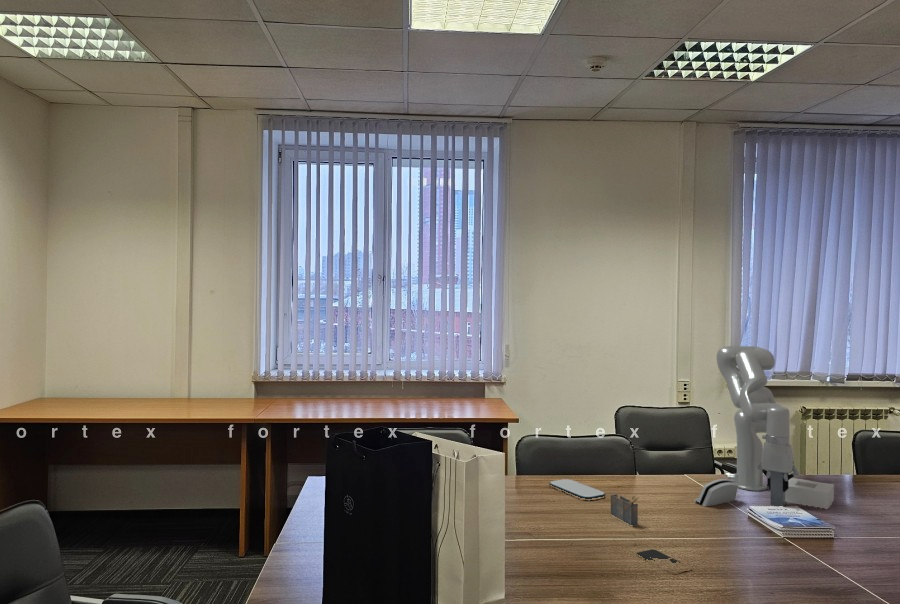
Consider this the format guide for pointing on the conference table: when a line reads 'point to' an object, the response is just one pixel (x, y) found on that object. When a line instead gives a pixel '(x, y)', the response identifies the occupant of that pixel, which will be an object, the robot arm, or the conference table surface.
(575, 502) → the conference table surface
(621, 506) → the grey upright flat piece
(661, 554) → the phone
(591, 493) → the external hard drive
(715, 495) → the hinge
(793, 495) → the well block
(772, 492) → the bracket bar
